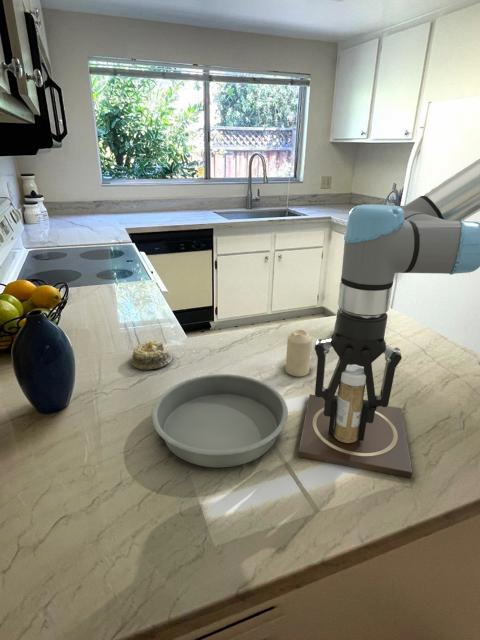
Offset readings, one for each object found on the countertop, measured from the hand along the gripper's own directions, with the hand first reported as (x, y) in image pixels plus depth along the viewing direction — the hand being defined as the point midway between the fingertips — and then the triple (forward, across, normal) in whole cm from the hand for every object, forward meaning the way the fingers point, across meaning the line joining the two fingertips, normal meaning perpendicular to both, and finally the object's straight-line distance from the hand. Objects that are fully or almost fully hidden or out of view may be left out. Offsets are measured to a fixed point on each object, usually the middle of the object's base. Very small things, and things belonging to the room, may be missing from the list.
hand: (345, 432), depth 71 cm
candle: (+2, +12, -23) cm, 26 cm away
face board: (+2, -2, -3) cm, 4 cm away
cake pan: (+2, +22, +2) cm, 23 cm away
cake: (+2, +46, -18) cm, 50 cm away
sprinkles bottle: (+1, 0, 0) cm, 1 cm away
